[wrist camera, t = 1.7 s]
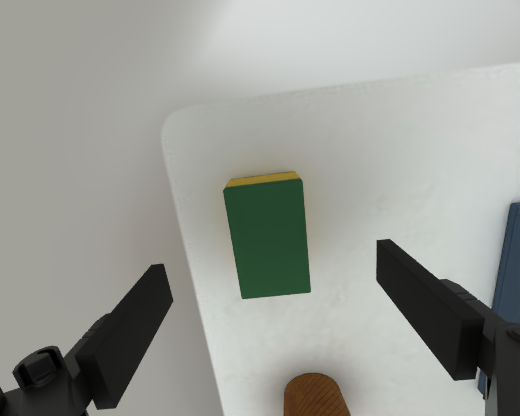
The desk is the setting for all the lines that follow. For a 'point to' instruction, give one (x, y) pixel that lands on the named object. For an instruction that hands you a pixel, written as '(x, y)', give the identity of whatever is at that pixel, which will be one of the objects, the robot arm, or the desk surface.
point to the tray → (508, 277)
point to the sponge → (268, 234)
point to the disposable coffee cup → (314, 397)
